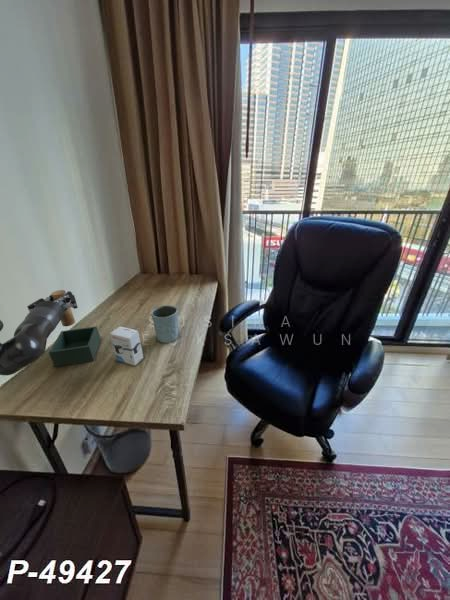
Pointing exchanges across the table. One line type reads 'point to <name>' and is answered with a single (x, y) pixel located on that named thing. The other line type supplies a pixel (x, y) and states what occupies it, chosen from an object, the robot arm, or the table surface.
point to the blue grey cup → (165, 323)
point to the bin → (75, 346)
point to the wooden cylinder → (68, 315)
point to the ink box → (127, 345)
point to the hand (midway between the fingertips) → (62, 294)
